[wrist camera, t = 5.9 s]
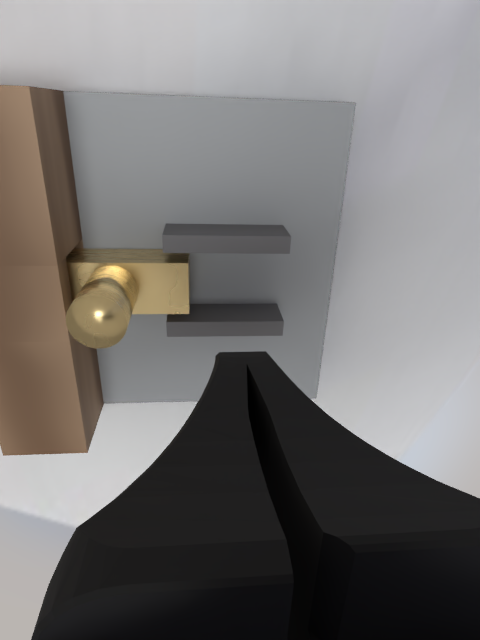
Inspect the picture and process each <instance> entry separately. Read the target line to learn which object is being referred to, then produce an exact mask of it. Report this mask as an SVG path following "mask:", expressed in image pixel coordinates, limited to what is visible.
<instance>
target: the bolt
mask: <svg viewBox="0 0 480 640" xmlns="http://www.w3.org/2000/svg"><path fill="white" fill-rule="evenodd" d="M66 263H67V269H68V276H69V283H70V289H71V296H72V304H71V305H70V307H69V309H68V311H67V314H66V325H67V328H68V330H69V332H70V334H71V335H72V336H73V337H74V339H76V340H77V341H78V342H80V343H81V344H83V345H85V346H88V347H91V348H98V349H102V348H108V347H111V346H113V345H115V344H117V343H118V342H119V341H121V339H122V338H123V337H124V335H125V333H126V330H127V327H128V324H129V321H130V318H131V315H132V314H189V310H190V258H189V253H163V249H81V248H74V249H73V250H72V251H71V252H70V253H69V254H68V255H67V256H66Z"/></svg>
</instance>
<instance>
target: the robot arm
mask: <svg viewBox="0 0 480 640" xmlns="http://www.w3.org/2000/svg"><path fill="white" fill-rule="evenodd" d="M31 640H480V499H479V498H477V497H475V496H472V495H470V494H467V493H465V492H462V491H460V490H457V489H455V488H453V487H450V486H448V485H445V484H443V483H441V482H438V481H436V480H434V479H432V478H430V477H428V476H426V475H424V474H422V473H420V472H418V471H416V470H414V469H412V468H410V467H408V466H406V465H404V464H402V463H401V462H399V461H397V460H395V459H393V458H391V457H390V456H388V455H386V454H385V453H383V452H381V451H380V450H378V449H376V448H375V447H373V446H371V445H370V444H368V443H366V442H365V441H363V440H362V439H360V438H359V437H357V436H356V435H354V434H353V433H352V432H350V431H349V430H347V429H346V428H345V427H343V426H342V425H341V424H339V423H338V422H337V421H335V420H334V419H333V418H331V417H330V416H329V415H328V414H326V413H325V412H324V411H323V410H322V409H321V408H319V407H318V406H317V405H316V404H315V403H314V402H313V401H312V400H311V399H309V398H308V397H307V396H306V395H305V394H304V393H303V392H302V391H301V390H300V389H299V388H298V387H297V386H296V384H295V383H294V382H293V381H292V380H291V379H290V378H289V377H288V376H287V375H286V374H285V373H284V371H283V370H282V369H281V368H280V367H279V366H278V365H277V363H276V362H275V361H274V360H273V359H272V357H271V356H270V355H269V354H268V353H267V352H266V351H254V352H219V353H218V354H217V355H216V356H215V363H214V367H213V371H212V373H211V376H210V379H209V381H208V383H207V385H206V387H205V389H204V392H203V394H202V396H201V398H200V399H199V401H198V403H197V405H196V406H195V408H194V410H193V411H192V413H191V415H190V416H189V418H188V420H187V421H186V423H185V424H184V426H183V427H182V428H181V430H180V431H179V432H178V434H177V435H176V436H175V438H174V439H173V440H172V442H171V443H170V444H169V445H168V446H167V448H166V449H165V450H164V451H163V452H162V453H161V455H160V456H159V457H158V458H157V459H156V460H155V461H154V462H153V464H152V465H151V466H150V467H149V468H148V469H147V470H146V471H145V472H144V473H143V474H142V475H140V476H139V477H138V478H137V479H136V480H135V481H134V482H133V483H132V484H131V485H130V486H129V487H128V488H127V489H126V490H125V491H123V492H122V493H121V494H120V495H119V496H118V497H117V498H115V499H114V500H113V501H112V502H110V503H109V504H108V505H106V506H105V507H104V508H103V509H101V510H100V511H99V512H97V513H96V514H95V515H93V516H92V517H91V518H90V519H88V520H87V521H85V522H84V523H83V524H81V525H80V526H78V527H77V528H76V530H75V532H74V534H73V536H72V537H71V539H70V541H69V543H68V545H67V547H66V549H65V551H64V552H63V555H62V557H61V559H60V561H59V563H58V565H57V567H56V570H55V572H54V574H53V576H52V579H51V581H50V583H49V586H48V588H47V592H46V594H45V597H44V600H43V604H42V607H41V610H40V613H39V616H38V620H37V623H36V626H35V630H34V633H33V636H32V639H31Z"/></svg>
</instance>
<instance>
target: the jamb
mask: <svg viewBox="0 0 480 640" xmlns="http://www.w3.org/2000/svg"><path fill="white" fill-rule="evenodd" d="M74 248H81V249H84V248H83V240H82V232H81V225H80V217H79V209H78V201H77V194H76V186H75V178H74V171H73V163H72V155H71V147H70V140H69V132H68V124H67V117H66V109H65V101H64V94H63V91H59V90H52V89H44V88H37V87H30V86H8V85H0V445H1V449H2V453H3V455H31V454H61V453H88V449H89V446H90V443H91V440H92V437H93V434H94V431H95V428H96V425H97V422H98V419H99V416H100V413H101V410H102V407H103V404H104V402H103V394H102V386H101V379H100V371H99V363H98V356H97V348H91V347H88V346H85V345H83V344H81V343H80V342H78V341H77V340H76V339H74V337H73V336H72V335H71V334H70V332H69V330H68V328H67V325H66V314H67V311H68V309H69V307H70V305H71V304H72V296H71V289H70V283H69V276H68V269H67V263H66V256H67V255H68V254H69V253H70V252H71V251H72V250H73V249H74Z"/></svg>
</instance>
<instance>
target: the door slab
mask: <svg viewBox="0 0 480 640" xmlns="http://www.w3.org/2000/svg"><path fill="white" fill-rule="evenodd" d="M63 94H64V101H65V109H66V117H67V124H68V132H69V140H70V147H71V155H72V163H73V171H74V178H75V186H76V194H77V201H78V209H79V217H80V225H81V232H82V240H83V248H84V249H163V253H189V258H190V310H189V314H132V315H131V318H130V321H129V324H128V327H127V330H126V333H125V335H124V337H123V338H122V339H121V341H119V342H118V343H117V344H115V345H113V346H111V347H108V348H102V349H98V348H97V356H98V363H99V371H100V379H101V386H102V394H103V402H104V403H141V402H184V401H199V399H200V398H201V396H202V394H203V392H204V389H205V387H206V385H207V383H208V381H209V379H210V376H211V373H212V371H213V367H214V363H215V356H216V355H217V354H218V353H219V352H254V351H266V352H267V353H268V354H269V355H270V356H271V357H272V359H273V360H274V361H275V362H276V363H277V365H278V366H279V367H280V368H281V369H282V370H283V371H284V373H285V374H286V375H287V376H288V377H289V378H290V379H291V380H292V381H293V382H294V383H295V384H296V386H297V387H298V388H299V389H300V390H301V391H302V392H303V393H304V394H305V395H306V396H307V397H308V398H309V399H312V398H316V396H317V389H318V381H319V374H320V367H321V359H322V352H323V344H324V337H325V329H326V322H327V315H328V307H329V300H330V292H331V285H332V277H333V270H334V262H335V255H336V248H337V240H338V233H339V225H340V218H341V210H342V203H343V196H344V188H345V181H346V173H347V166H348V158H349V151H350V143H351V136H352V129H353V121H354V114H355V106H356V103H353V102H328V101H302V100H277V99H251V98H226V97H201V96H175V95H150V94H124V93H99V92H73V91H63Z"/></svg>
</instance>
